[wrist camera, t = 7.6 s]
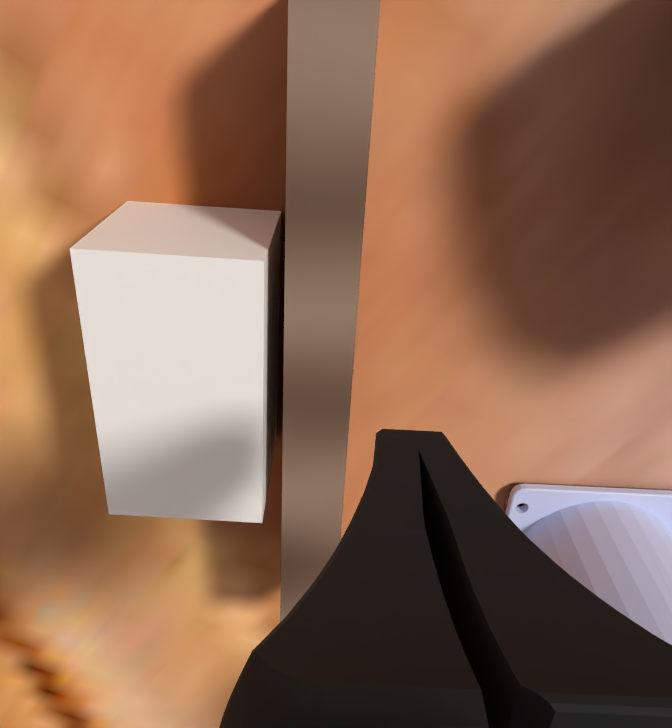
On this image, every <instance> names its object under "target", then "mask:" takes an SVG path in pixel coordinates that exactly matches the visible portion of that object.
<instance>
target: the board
mask: <svg viewBox="0 0 672 728" xmlns="http://www.w3.org/2000/svg"><path fill="white" fill-rule="evenodd" d="M379 12H380V0H288V50H287V129H286V209H285V289H284V368H283V448H282V528H281V607H280V622H281V621H282V620H283V619H284V618H285V617H286V616H287V615H288V613H289V612H290V611H291V610H292V609H293V607H294V606H295V605H296V604H297V602H298V601H299V600H300V599H301V597H302V596H303V595H304V594H305V592H306V591H307V590H308V589H309V588H310V586H311V585H312V584H313V582H314V581H315V580H316V578H317V577H318V575H319V574H320V573H321V571H322V570H323V568H324V566H325V565H326V563H327V562H328V560H329V559H330V557H331V556H332V554H333V553H334V551H335V549H336V548H337V546H338V544H339V543H340V538H341V524H342V511H343V497H344V484H345V470H346V457H347V443H348V430H349V416H350V403H351V389H352V376H353V362H354V349H355V335H356V322H357V308H358V295H359V281H360V268H361V255H362V241H363V228H364V214H365V201H366V187H367V174H368V160H369V147H370V133H371V120H372V106H373V93H374V79H375V66H376V52H377V39H378V25H379Z"/></svg>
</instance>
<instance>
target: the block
mask: <svg viewBox="0 0 672 728" xmlns="http://www.w3.org/2000/svg"><path fill="white" fill-rule="evenodd" d="M280 243H281V211H272V210H257V209H241V208H226V207H211V206H195V205H180V204H165V203H149V202H134V201H127V202H125V203H124V204H123V205H122V206H121V207H119V208H118V209H117V210H116V211H114V212H113V213H112V214H111V215H110V216H108V217H107V218H106V219H105V220H104V221H102V222H101V223H100V224H99V225H97V226H96V227H95V228H94V229H93V230H91V231H90V232H89V233H88V234H87V235H85V236H84V237H83V238H82V239H81V240H79V241H78V242H77V243H76V244H74V245H73V246H72V247H71V248H70V255H71V261H72V268H73V275H74V282H75V288H76V295H77V302H78V309H79V316H80V322H81V329H82V336H83V343H84V349H85V356H86V363H87V370H88V376H89V383H90V390H91V397H92V404H93V410H94V417H95V424H96V431H97V437H98V444H99V451H100V458H101V465H102V471H103V478H104V485H105V492H106V498H107V505H108V512H109V514H112V515H130V516H147V517H165V518H183V519H200V520H218V521H235V522H253V523H262V521H263V515H264V509H265V503H266V497H267V491H268V485H269V479H270V473H271V467H272V461H273V455H274V449H275V443H276V437H277V389H278V340H279V292H280Z"/></svg>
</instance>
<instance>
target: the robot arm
mask: <svg viewBox="0 0 672 728" xmlns="http://www.w3.org/2000/svg"><path fill="white" fill-rule="evenodd" d="M521 503H525V504H524V505H523V506H519V507H518V506H517V505H519V504H521ZM220 728H672V491H670V490H649V489H628V488H608V487H587V486H566V485H545V484H519V485H516V486H515V487H514V488H512V490H511V492H510V495H509V499H508V504H507V508H506V512H505V513H504V512H503V510H502V509H501V508H500V507H499V506H498V505H497V504H496V502H495V501H494V500H493V499H492V497H491V496H490V495H489V494H488V493H487V491H486V490H485V489H484V488H483V486H482V485H481V484H480V483H479V482H478V480H477V479H476V478H475V476H474V475H473V474H472V472H471V471H470V470H469V468H468V467H467V466H466V464H465V463H464V462H463V460H462V459H461V458H460V456H459V455H458V453H457V452H456V451H455V449H454V448H453V446H452V445H451V443H450V442H449V441H448V439H447V438H446V436H445V435H444V434H443V433H442V432H434V431H413V430H393V429H382V430H380V431H379V432H377V433H376V441H375V451H374V461H373V467H372V471H371V474H370V477H369V480H368V482H367V485H366V488H365V491H364V494H363V496H362V498H361V501H360V503H359V505H358V507H357V509H356V512H355V514H354V516H353V518H352V520H351V522H350V524H349V526H348V528H347V530H346V532H345V534H344V536H343V537H342V539H341V541H340V543H339V544H338V546H337V548H336V549H335V551H334V553H333V554H332V556H331V557H330V559H329V560H328V562H327V563H326V565H325V566H324V568H323V570H322V571H321V573H320V574H319V575H318V577H317V578H316V580H315V581H314V582H313V584H312V585H311V586H310V588H309V589H308V590H307V591H306V592H305V594H304V595H303V596H302V597H301V599H300V600H299V601H298V602H297V604H296V605H295V606H294V607H293V609H292V610H291V611H290V612H289V613H288V615H287V616H286V617H285V618H284V619H283V620H282V621H281V622H280V623H279V624H278V625H277V626H276V627H275V628H274V629H273V630H272V632H271V633H270V634H269V635H268V636H267V637H266V638H265V639H264V640H263V641H262V642H261V643H260V644H259V645H258V646H257V647H256V648H255V649H254V650H253V651H252V653H251V655H250V657H249V659H248V661H247V663H246V665H245V667H244V669H243V671H242V673H241V675H240V677H239V679H238V681H237V683H236V685H235V687H234V690H233V692H232V694H231V696H230V699H229V701H228V704H227V706H226V709H225V712H224V715H223V717H222V721H221V724H220Z"/></svg>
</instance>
